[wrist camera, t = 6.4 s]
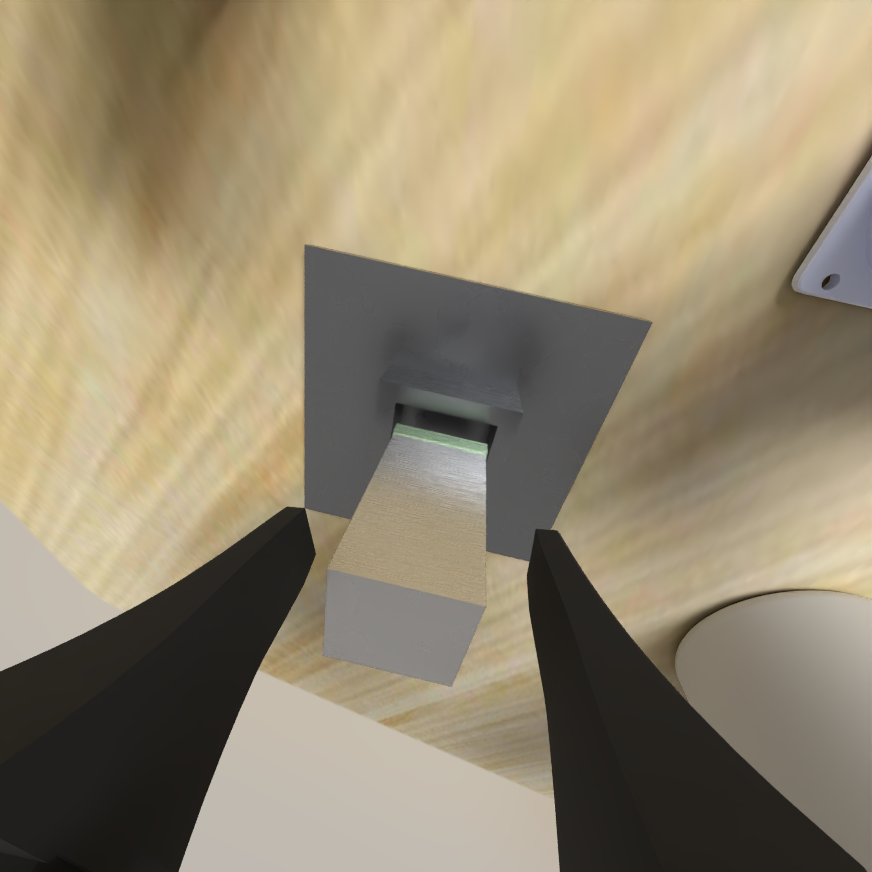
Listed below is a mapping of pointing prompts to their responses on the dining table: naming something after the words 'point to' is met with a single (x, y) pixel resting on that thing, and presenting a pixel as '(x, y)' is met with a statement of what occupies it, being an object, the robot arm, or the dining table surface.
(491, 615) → the dining table surface
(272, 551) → the robot arm
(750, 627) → the cylinder vase
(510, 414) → the stand base
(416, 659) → the column
